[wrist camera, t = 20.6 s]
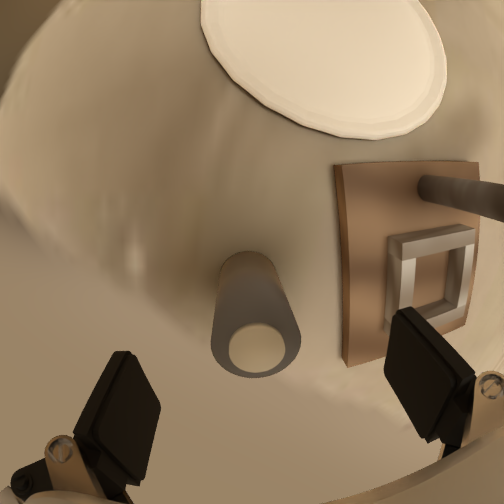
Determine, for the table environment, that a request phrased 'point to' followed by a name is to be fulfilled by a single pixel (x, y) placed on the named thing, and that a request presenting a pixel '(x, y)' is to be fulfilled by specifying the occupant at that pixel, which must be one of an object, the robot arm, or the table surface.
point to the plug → (253, 319)
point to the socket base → (408, 246)
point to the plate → (333, 61)
